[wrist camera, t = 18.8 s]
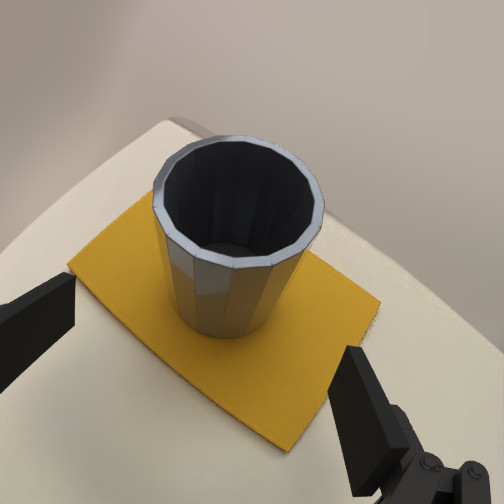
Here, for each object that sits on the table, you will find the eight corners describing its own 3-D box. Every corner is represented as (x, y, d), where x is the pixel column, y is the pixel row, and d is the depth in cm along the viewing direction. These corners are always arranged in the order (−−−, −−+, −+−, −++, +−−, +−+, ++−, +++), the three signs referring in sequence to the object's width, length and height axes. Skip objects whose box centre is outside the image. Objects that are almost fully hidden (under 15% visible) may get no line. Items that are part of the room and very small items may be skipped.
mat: (69, 268, 22) (66, 264, 21) (183, 171, 28) (182, 165, 27) (285, 451, 18) (288, 452, 17) (376, 306, 24) (381, 302, 23)
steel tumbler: (148, 292, 21) (117, 196, 13) (217, 224, 25) (228, 117, 16) (233, 362, 20) (259, 307, 11) (297, 281, 23) (350, 189, 15)
